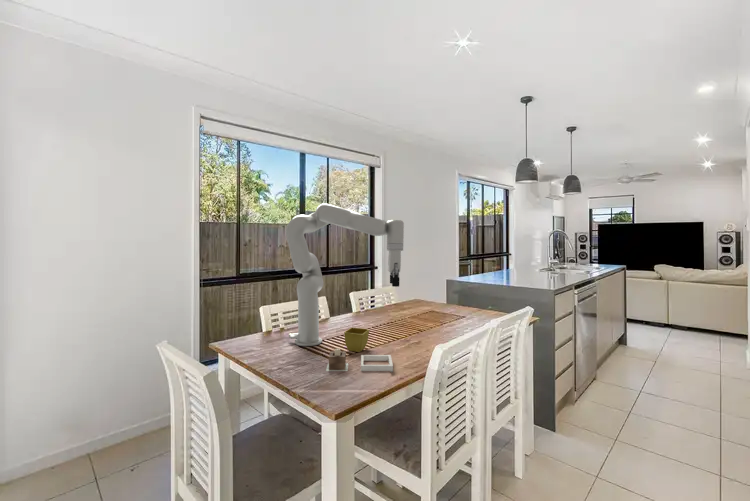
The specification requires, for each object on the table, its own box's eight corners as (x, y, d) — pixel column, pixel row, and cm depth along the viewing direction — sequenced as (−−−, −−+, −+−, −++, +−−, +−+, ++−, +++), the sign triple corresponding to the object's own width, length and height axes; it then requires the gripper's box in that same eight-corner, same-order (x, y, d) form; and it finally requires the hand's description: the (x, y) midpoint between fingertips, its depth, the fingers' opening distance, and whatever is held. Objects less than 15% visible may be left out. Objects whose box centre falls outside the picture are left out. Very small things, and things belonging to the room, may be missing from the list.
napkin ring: (328, 369, 136) (328, 356, 136) (330, 364, 142) (330, 351, 142) (344, 369, 136) (344, 356, 136) (345, 364, 142) (345, 351, 142)
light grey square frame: (360, 372, 136) (360, 365, 135) (361, 361, 148) (361, 355, 147) (392, 372, 136) (393, 365, 136) (390, 361, 148) (390, 355, 148)
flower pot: (369, 348, 163) (369, 329, 163) (362, 355, 155) (362, 334, 154) (351, 346, 166) (351, 327, 166) (343, 352, 158) (343, 332, 157)
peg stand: (325, 372, 135) (325, 352, 135) (327, 364, 143) (328, 346, 143) (347, 372, 135) (347, 352, 135) (348, 364, 143) (348, 346, 143)
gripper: (385, 246, 173) (384, 282, 174) (388, 248, 156) (388, 287, 157) (400, 246, 174) (400, 282, 174) (406, 248, 156) (405, 287, 157)
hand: (394, 284), depth 166 cm, fingers open, 9 cm apart
